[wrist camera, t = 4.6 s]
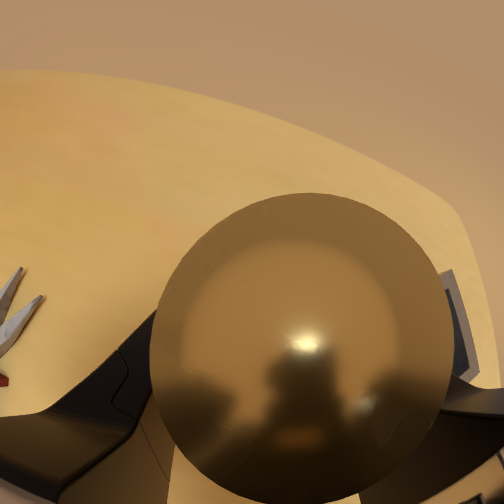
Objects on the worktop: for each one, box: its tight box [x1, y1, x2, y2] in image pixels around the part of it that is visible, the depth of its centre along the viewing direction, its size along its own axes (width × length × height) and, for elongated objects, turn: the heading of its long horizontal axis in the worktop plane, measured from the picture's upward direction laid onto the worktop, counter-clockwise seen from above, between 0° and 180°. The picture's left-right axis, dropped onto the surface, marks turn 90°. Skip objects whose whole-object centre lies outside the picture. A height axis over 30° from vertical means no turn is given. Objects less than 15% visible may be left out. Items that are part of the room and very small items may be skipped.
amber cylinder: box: [150, 193, 454, 504], centre depth 9 cm, size 4×4×12 cm
